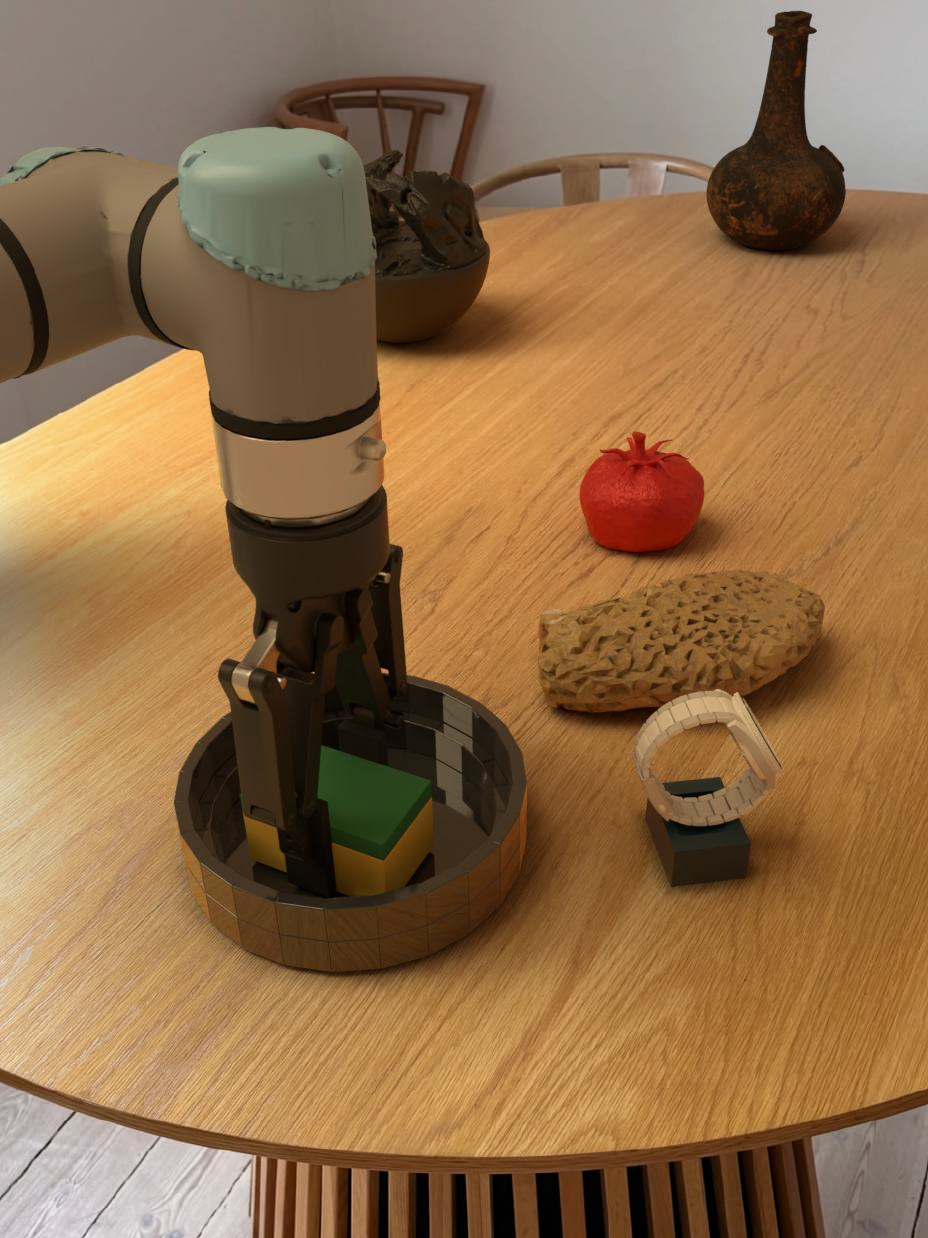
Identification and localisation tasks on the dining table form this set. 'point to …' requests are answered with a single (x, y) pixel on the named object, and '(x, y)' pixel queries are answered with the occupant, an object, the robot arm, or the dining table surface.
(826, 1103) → the dining table surface
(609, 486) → the red tomato
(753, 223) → the glass bottle
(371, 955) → the bowl
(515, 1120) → the dining table surface
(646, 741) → the watch
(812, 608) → the sponge
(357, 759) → the dish sponge
